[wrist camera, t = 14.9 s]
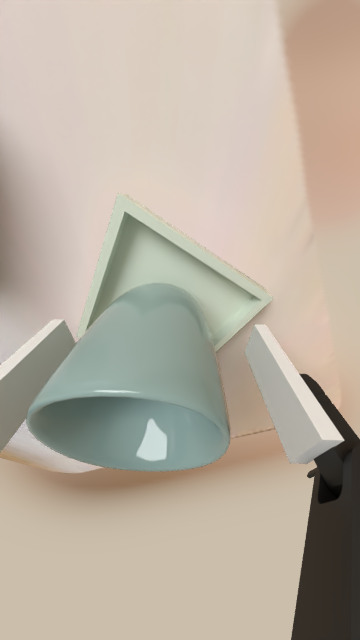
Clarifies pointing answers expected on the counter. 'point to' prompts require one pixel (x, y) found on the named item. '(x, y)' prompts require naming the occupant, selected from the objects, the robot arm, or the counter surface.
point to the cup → (138, 388)
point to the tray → (169, 271)
